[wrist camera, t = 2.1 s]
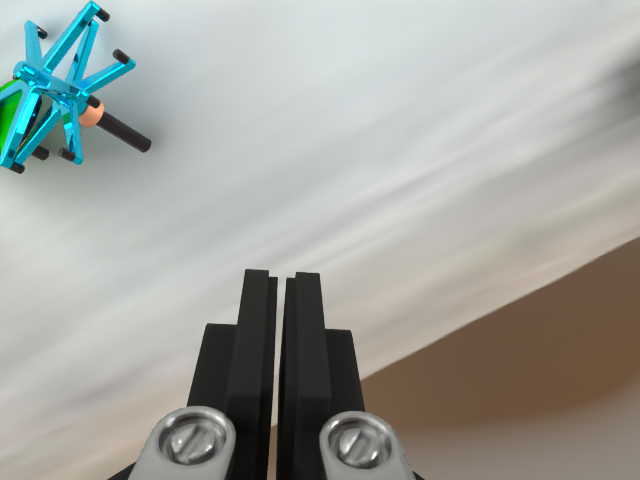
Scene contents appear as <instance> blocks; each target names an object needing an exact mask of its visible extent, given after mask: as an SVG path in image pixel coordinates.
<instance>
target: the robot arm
mask: <svg viewBox="0 0 640 480" xmlns="http://www.w3.org/2000/svg"><path fill="white" fill-rule="evenodd" d="M277 284H278V277H269V270H253V269H246V270H245V276H244V283H243V289H242V296H241V302H240V309H239V315H238V322H237V325H232V324H211V323H207V325H206V328H205V332H204V336H203V340H202V344H201V348H200V352H199V357H198V361H197V365H196V369H195V373H194V377H193V382H192V386H191V390H190V394H189V398H188V402H187V406H186V407H185V408H180V409H178V410H176V411H174V412H171V413H169V414H168V415H166V416H165V417H164V418H162V419H161V420H160V421H159V422H158V423H157V424H156V426H155V427H154V429H153V430H152V432H151V434H150V436H149V438H148V440H147V442H146V444H145V446H144V448H143V450H142V452H141V454H140V456H139V458H138V460H137V461H136V462H134V463H133V464H131V465H130V466H128V467H127V468H125V469H123V470H122V471H120V472H119V473H117V474H115V475H114V476H112V477H111V478H109V479H108V480H267V469H268V456H269V443H270V429H271V415H272V401H273V382H274V358H275V333H276V309H277ZM277 426H278V427H277V461H276V480H424V479H423V478H422V477H420V476H419V475H418V474H416V473H415V472H414V471H412V469H411V466H410V464H409V462H408V459H407V457H406V454H405V452H404V449H403V447H402V445H401V442H400V440H399V438H398V436H397V434H396V433H395V431H394V429H393V428H392V427H391V426H390V425H389V424H387V423H386V422H385V421H384V420H382V419H380V418H379V417H377V416H375V415H372V414H369V413H366V412H365V408H364V402H363V396H362V390H361V384H360V379H359V373H358V367H357V361H356V355H355V349H354V344H353V338H352V333H351V331H350V330H338V329H325V324H324V314H323V304H322V293H321V283H320V274H319V273H305V272H296V276H295V278H287V280H286V292H285V304H284V317H283V330H282V342H281V355H280V368H279V390H278V425H277Z"/></svg>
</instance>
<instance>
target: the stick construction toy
mask: <svg viewBox="0 0 640 480" xmlns="http://www.w3.org/2000/svg"><path fill="white" fill-rule="evenodd" d="M94 15H96V16H97V17H99V18H100V19H101V20H102V21H104V22H107V21H108V20H109V18H110V15H109V14H108V13H107V12H106V11H104V10H103V9H102V8H101V7H100V6H98V5H97V4H96V3H95V2H94V1H89V2H88V3H87V4H86V5H85V7H84V8H83V9H82V10H81V11H80V12H79V13H78V15H77V16H76V18H75V19H74V20H73V21H72V23H71V24H70V25H69V26H68V28H67V29H66V30H65V31H64V32H63V34H62V35H61V36H60V37H59V39H58V40H57V41H56V42H55V44H54V45H53V46H52V47H51V48H50V50H49V51H48V52H47V53H46V55H45V56H44V57H43V58H42V53H41V47H40V42H39V37H40V38H41V39H45V38H46V37H47V32H46V31H44V30H43V29H41V28H40V27H39V26H37V25H36V24H34V23H33V22H31V21H30V20H28V21H27V22H26V23H25V45H26V61H20V62H19V63H17V65H16V66H15V68H14V70H13V73H14V75H13V79H14V80H13V81H11V82H8V83H7V84H5V85H4V86H2V87H1V88H0V166H3V167H5V168H7V169H10V170H12V171H14V172H16V173H19V174H21V173H23V172H24V170H25V167H24V165H22V164H23V163H24V162H25V160H26V159H27V158H28V157H29V156H30V155H32V156H34V157H36V158H38V159H40V160H46V159H47V158H48V156H49V150H47V149H45V148H43V147H41V146H39V144H40V143H41V141H42V140H43V139H44V138H45V137H46V135H47V134H48V133H49V132H50V131H51V129H52V128H53V127H54V126H55V125H56V123H57V122H58V121H59V120H60V119H61V117H62V121H63V126H64V131H65V136H66V141H67V146H68V149H66V148H64V147H62V148H60V149H59V151H58V155H59V156H60V157H62V158H64V159H66V160H68V161H70V162H72V163H74V164H76V165H80V164H82V162H83V153H82V144H81V135H80V126H79V123H80V124H82V125H84V126H86V127H92V126H94V125H97V126H99V127H100V128H102V129H104V130H105V131H107V132H109V133H110V134H112V135H114V136H115V137H117V138H119V139H120V140H122V141H124V142H126V143H127V144H129V145H131V146H132V147H134V148H136V149H137V150H139V151H141V152H143V153H144V152H147V151H148V150H149V149H150V147H151V140H150V139H148V138H146V137H145V136H143V135H142V134H140V133H138V132H137V131H135V130H134V129H132V128H130V127H129V126H127V125H126V124H124V123H123V122H121V121H119V120H118V119H116V118H115V117H113V116H111V115H110V114H108V113H107V112H105V111H104V104H103V102H102V101H100V100H99V99H97V98H96V97H94V96H92V95H91V93H93V92H95V91H97V90H98V89H100V88H102V87H103V86H105V85H107V84H108V83H110V82H112V81H113V80H115V79H117V78H118V77H120V76H122V75H123V74H125V73H127V72H129V71H130V70H132V69H133V68H134V67H135V66H136V62H135V61H134V60H132V59H131V58H130V57H128V56H127V55H126V54H124V53H123V52H122V51H121V50H119V49H116V50H115V51H114V52H113V57H114V58H115V59H117V60H118V61H119V62H117V63H115V64H113V65H111V66H109V67H107V68H106V69H104V70H102V71H100V72H98V73H96V74H94V75H92V76H90V77H88V78H86V79H84V80H82V77H83V74H84V71H85V68H86V65H87V62H88V59H89V55H90V52H91V49H92V46H93V43H94V40H95V37H96V34H97V30H98V27H99V24H98V23H97V22H96V21H95V20H93V19H92V18H93V17H94ZM85 28H86V29H85ZM84 29H85V31H84V34H83V36H82V39H81V41H80V44H79V47H78V49H77V52H76V54H75V57H74V59H73V62H72V64H71V67H70V69H69V72H68V74H67V77H66V80H65V81H63V80H61V79H59V78H57V77H54V76H52V72H53V71H54V69H55V68H56V67H57V65H58V64H59V63H60V61H61V60H62V58H63V57H64V56H65V54H66V53H67V52H68V50H69V49H70V48H71V46H72V45H73V44H74V42H75V41H76V40H77V38H78V37H79V36H80V34H81V33H82V32H83V30H84ZM40 94H41V95H43V96H45V97H47V98H49V99H51V100H53V103H52V105H51V107H50V108H49V109H48V111H47V112H46V113H45V115H44V116H43V117H42V119H41V120H40V121H39V123H38V124H37V125H36V127H35V128H34V129H33V131H32V132H31V133H30V135H29V136H28V134H29V132H30V130H31V129H32V127H33V125H34V123H35V121H36V118H37V116H38V113H39V110H40V107H41V104H42V100H41V95H40Z"/></svg>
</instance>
